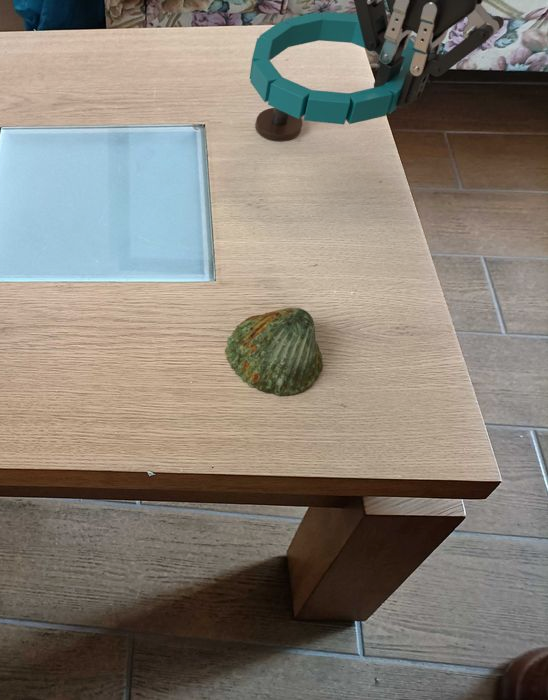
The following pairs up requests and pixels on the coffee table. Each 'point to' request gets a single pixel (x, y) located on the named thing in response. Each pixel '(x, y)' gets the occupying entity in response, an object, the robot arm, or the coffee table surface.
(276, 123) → the peg stand
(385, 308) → the coffee table surface
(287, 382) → the seashell
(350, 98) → the ring
